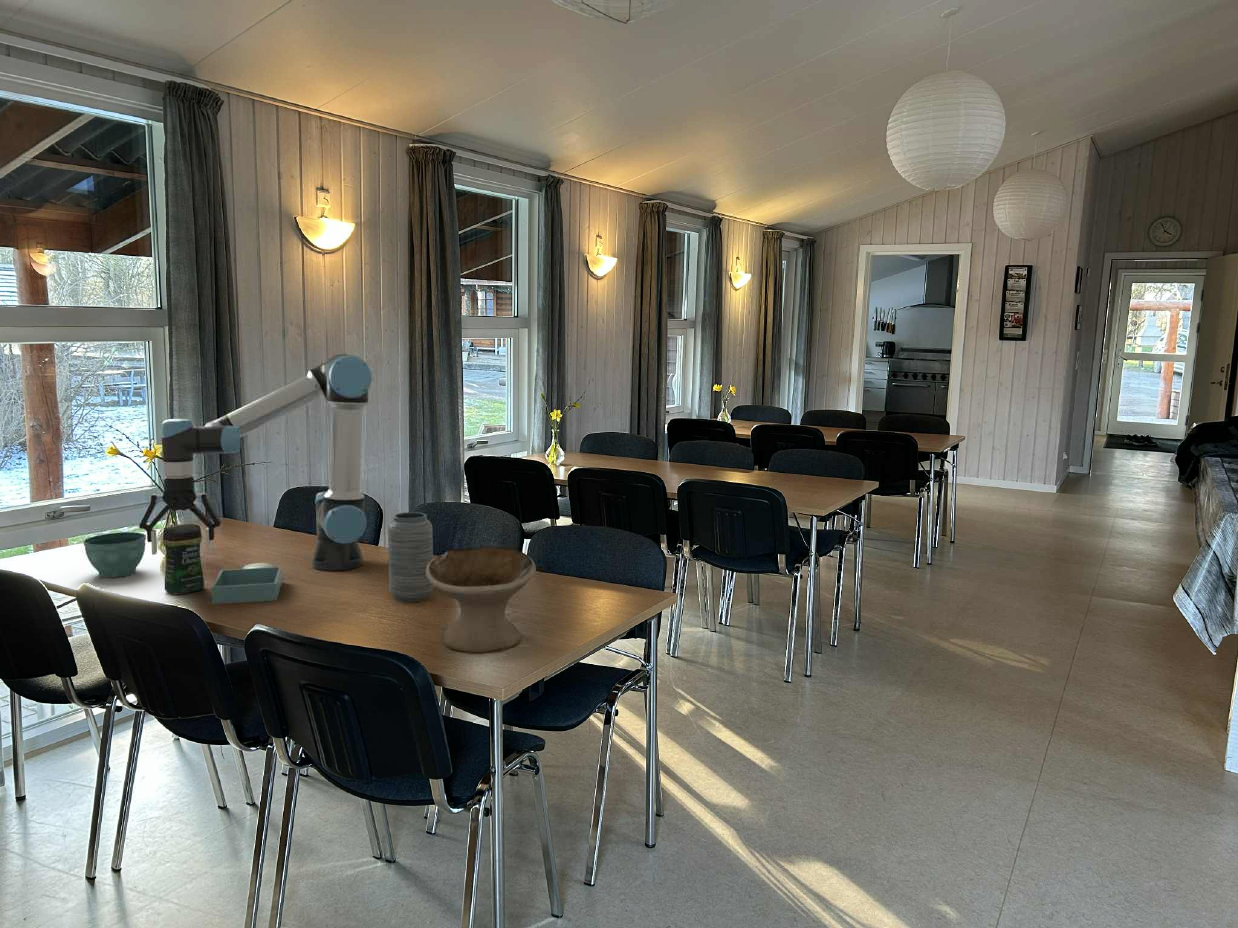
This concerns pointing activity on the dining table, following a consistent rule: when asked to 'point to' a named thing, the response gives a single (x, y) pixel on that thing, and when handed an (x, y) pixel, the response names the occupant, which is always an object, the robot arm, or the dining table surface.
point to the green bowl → (115, 553)
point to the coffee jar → (183, 559)
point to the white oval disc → (258, 565)
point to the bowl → (481, 594)
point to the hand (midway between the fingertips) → (181, 552)
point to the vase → (410, 556)
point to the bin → (247, 585)
